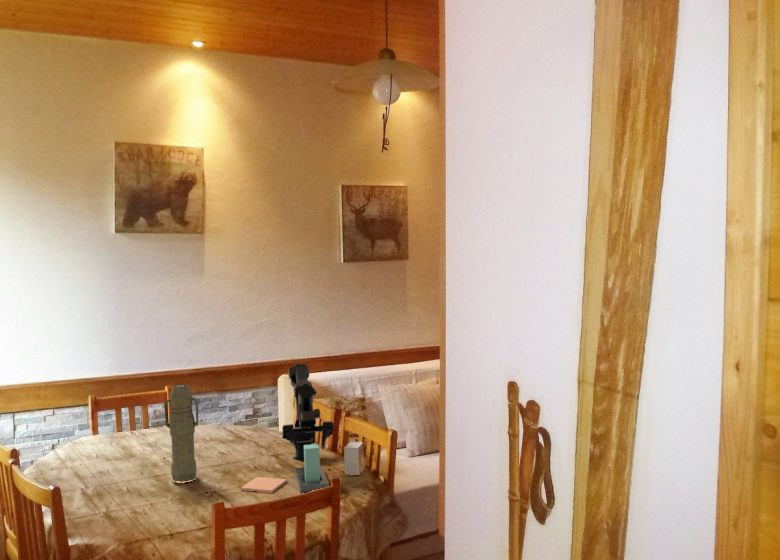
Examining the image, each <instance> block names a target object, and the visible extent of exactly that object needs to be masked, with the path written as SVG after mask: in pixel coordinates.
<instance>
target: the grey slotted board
mask: <svg viewBox="0 0 780 560" xmlns="http://www.w3.org/2000/svg"><path fill="white" fill-rule="evenodd" d="M294 474H295V475H294V476H295V479H296V482H297V486H298V490H299V493H300V494H304V493H305V492H309V491H312V490H316V489H320V488H324V487H327V486H329V487H330V482H329V479H328V478H327V476H326V475H327V474H326V473H325V470H324V468H323V466H322V465H320V481H311V482H305V471H304V466H303V467H295V468H294ZM309 493H310V492H309ZM305 494H306V493H305Z"/></svg>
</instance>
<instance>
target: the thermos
mask: <svg viewBox="0 0 780 560" xmlns="http://www.w3.org/2000/svg"><path fill="white" fill-rule="evenodd" d="M169 395H170V397H169V398H168V399H167V400H166V401H165V402H164V405H163V407H164V418H165V427H167V428H168V429H169V435H170V437H171V457H172V463H171V466H170V467H171V468H170V472H171V480H172V479H173V480H174V481H181V482H182V481H189V480H193V479H195V478H196V479H197V471H198V470H197V460H196V459H195V440H194V439H195V431H196V430H195V429H196V427H197V426H199V404H198V403H199V400H198V399H197V398H196V397H193V394H192V390H191V388H190V386H189V385H188V384H177V385H174V386H172V388H171V391H170V394H169ZM193 401H194V403H195V415H194V413H193V409H192V407H193ZM169 403H170V409H171V410H170V417H169ZM195 420H196V421H195Z"/></svg>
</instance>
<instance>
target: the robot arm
mask: <svg viewBox="0 0 780 560" xmlns="http://www.w3.org/2000/svg"><path fill="white" fill-rule="evenodd" d="M309 378H310V367H309V366H307V364H306V363H295V364H293V365H292V366H290V367H288V380H290V385H291V386H292V388H293V398H295V405H296V407H295V409H296V420H295V422H294V424H283V425H282V427H281V429H282V430H281V434H282V437H281V438H282V439H283V440H286V441H289V442H290V444H291V445H292V446H293V448H294V450H295V456H292V459H293V460H294V459H295V460H297V461H300V462H301V461H302V462H304V445H312V444H316V436H317V435H316V433H317V432H321V449H322V450H323V451H324V448H325V444H326V441H327V440H328V439H327V438H330V437H331V436H332V435H334V429H335V423H334V422H333V420H331V421H322V424H321V425H316V424H317V420H316V419H320V418H321V411H320V408H314V399H315V396H316V395H317V390H316V389H315V387H314V386H313V384H312V382H311V381H310V380H308V379H309Z"/></svg>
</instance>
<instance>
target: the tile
mask: <svg viewBox="0 0 780 560" xmlns="http://www.w3.org/2000/svg"><path fill="white" fill-rule="evenodd" d="M287 482H288V479H286V478H278V477H277V478H276V477H275V478H274V477H267V476H266V477H265V476H263V477H262V476H256V477H255V478H253V479H251V480H250V481H248V482H247V483H245V484H244V485H242V486H241V487H240V491H241V490H243V491H242V492H244V491H245V492H253V491H257V492H256V493H263V494H264V493H268V494H273V493H274V492H275V491H277V490H278V489H280V488H281V487H282V486H283V485H285V484H286V483H287Z"/></svg>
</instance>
